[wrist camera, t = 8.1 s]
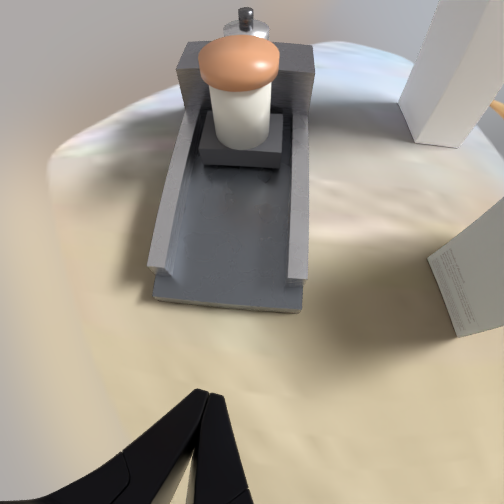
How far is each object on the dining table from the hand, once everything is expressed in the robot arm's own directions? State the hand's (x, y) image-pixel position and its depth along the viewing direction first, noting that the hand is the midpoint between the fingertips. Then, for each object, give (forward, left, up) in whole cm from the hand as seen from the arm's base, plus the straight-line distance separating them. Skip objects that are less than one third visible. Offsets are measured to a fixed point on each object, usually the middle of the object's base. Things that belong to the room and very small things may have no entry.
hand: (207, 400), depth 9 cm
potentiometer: (+20, +9, -4) cm, 23 cm away
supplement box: (+14, -15, -13) cm, 24 cm away
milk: (+30, -8, -13) cm, 34 cm away
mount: (+14, +6, -13) cm, 20 cm away
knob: (+16, +7, -11) cm, 21 cm away
